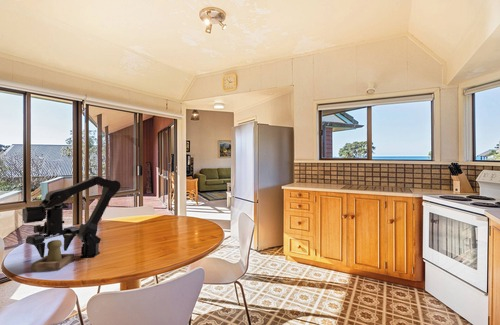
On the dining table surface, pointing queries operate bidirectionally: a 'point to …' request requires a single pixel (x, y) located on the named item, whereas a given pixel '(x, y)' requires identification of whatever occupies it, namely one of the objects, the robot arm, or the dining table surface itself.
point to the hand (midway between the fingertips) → (54, 254)
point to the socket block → (52, 263)
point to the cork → (54, 251)
